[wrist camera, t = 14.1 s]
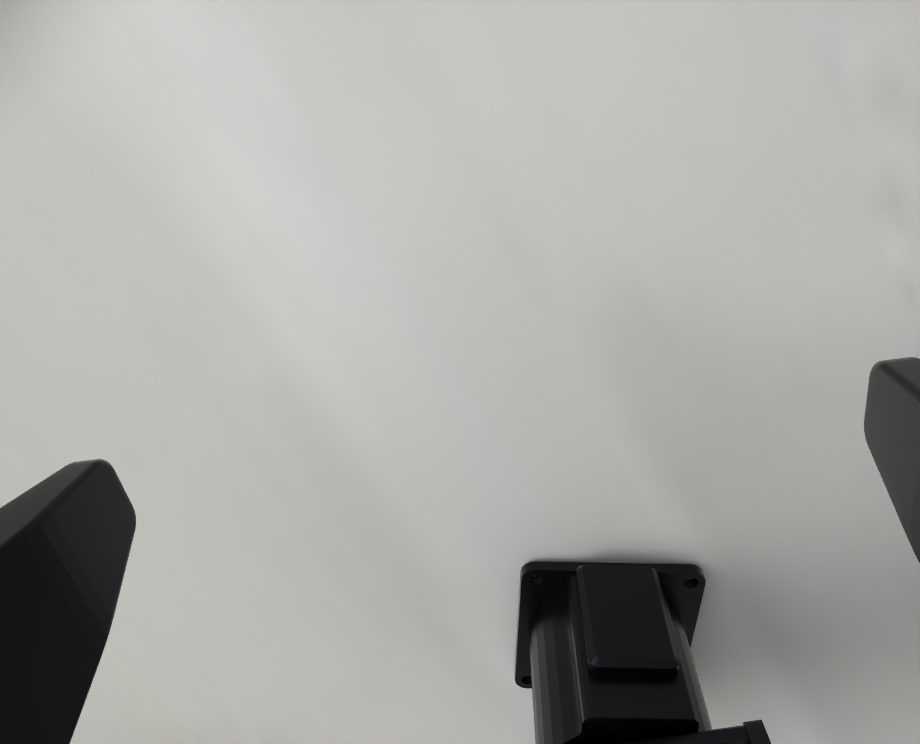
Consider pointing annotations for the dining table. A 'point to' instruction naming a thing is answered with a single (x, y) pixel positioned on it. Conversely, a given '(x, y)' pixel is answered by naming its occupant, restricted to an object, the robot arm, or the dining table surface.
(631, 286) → the dining table surface
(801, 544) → the dining table surface
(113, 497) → the robot arm
